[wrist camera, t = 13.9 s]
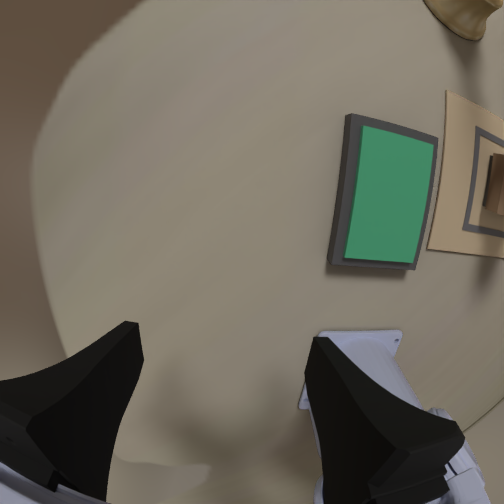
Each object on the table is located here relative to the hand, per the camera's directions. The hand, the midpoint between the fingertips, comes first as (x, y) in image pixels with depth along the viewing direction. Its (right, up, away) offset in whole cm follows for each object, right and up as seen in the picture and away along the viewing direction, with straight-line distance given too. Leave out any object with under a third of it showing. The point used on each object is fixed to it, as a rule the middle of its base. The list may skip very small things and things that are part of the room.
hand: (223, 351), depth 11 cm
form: (+24, +10, +7) cm, 26 cm away
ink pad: (+10, +8, +7) cm, 15 cm away
